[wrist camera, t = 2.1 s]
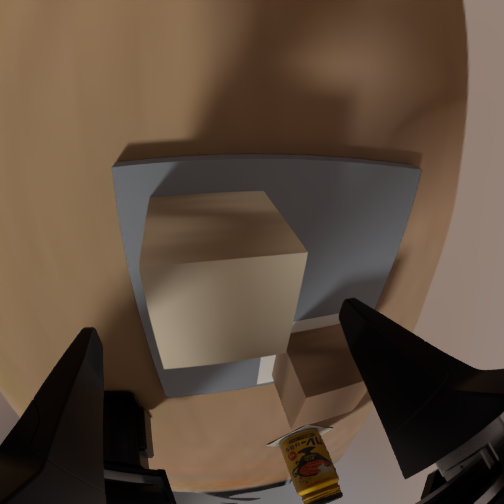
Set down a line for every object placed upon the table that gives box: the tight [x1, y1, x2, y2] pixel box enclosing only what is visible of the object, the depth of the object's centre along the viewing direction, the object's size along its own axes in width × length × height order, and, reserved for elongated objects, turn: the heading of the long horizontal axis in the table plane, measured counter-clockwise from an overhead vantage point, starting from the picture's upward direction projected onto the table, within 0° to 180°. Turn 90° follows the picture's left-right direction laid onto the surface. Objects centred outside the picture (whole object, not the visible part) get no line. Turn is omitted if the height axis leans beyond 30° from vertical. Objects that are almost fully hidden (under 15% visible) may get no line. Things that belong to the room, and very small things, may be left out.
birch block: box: [139, 191, 308, 369], centre depth 12 cm, size 5×5×5 cm
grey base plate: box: [112, 154, 422, 398], centre depth 18 cm, size 16×18×1 cm
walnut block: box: [272, 324, 367, 429], centre depth 19 cm, size 5×5×5 cm
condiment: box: [267, 425, 343, 504], centre depth 32 cm, size 7×8×12 cm
